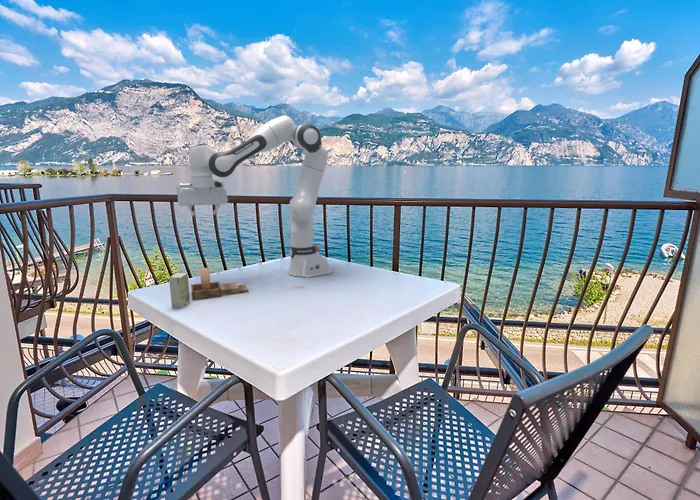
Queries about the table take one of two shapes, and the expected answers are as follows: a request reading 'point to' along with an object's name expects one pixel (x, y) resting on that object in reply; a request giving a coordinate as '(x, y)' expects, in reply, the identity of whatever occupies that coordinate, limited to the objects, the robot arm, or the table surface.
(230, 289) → the wooden desk organizer
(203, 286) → the wooden block
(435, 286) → the table surface
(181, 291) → the skincare box
